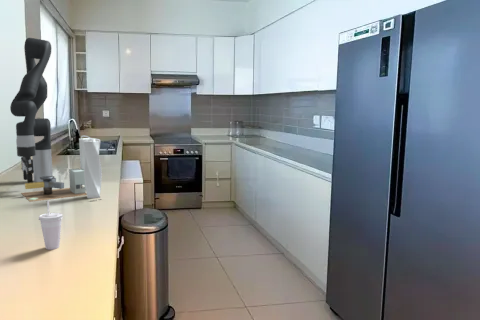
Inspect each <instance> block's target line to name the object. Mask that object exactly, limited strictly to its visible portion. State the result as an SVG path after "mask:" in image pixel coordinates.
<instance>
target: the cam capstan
mask: <svg viewBox="0 0 480 320" xmlns="http://www.w3.org/2000/svg"><path fill="white" fill-rule="evenodd" d="M40 179H41V180H43V181H42V182H34V181H33V182H30V183H28V182H24V190H31V189H43V190H42V191H43V192H44V194H52V190H53V189H63V188H65V182H64V181H63V182H62V181H57V177H55V176H54V175H53V176H43V177H40Z"/></svg>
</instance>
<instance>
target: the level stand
mask: <svg viewBox="0 0 480 320" xmlns="http://www.w3.org/2000/svg"><path fill="white" fill-rule="evenodd" d="M68 174H69V175H68V176H69V188H70V191H72V192H73V193H75V194H80V193H86V190H85V178H84V171H83V170H81V169H80V168H70V169H68Z"/></svg>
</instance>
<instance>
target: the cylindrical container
mask: <svg viewBox="0 0 480 320" xmlns="http://www.w3.org/2000/svg"><path fill="white" fill-rule="evenodd" d="M90 138H91V139H92V138H93V137H90ZM90 138H88V137H82V139H83V141H88V139H90ZM82 139H81V138H78V142H79V143H78V144H79V146H78V147H79V165H80V168H79V169H81V170H83V171H84V162H85V153H84V148H83V142H82ZM85 191H86V186H85Z"/></svg>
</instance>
